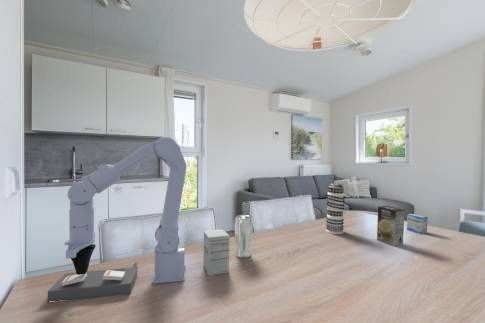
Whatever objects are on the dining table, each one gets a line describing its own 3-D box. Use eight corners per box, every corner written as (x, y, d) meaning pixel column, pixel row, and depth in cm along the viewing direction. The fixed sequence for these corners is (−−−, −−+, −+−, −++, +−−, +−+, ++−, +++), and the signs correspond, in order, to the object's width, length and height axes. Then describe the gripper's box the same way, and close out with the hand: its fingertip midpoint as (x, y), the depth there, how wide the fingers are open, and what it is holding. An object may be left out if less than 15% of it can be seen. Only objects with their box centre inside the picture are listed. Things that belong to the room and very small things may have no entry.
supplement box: (202, 266, 86) (203, 230, 86) (223, 263, 89) (223, 228, 88) (207, 276, 79) (208, 237, 79) (229, 272, 82) (230, 235, 81)
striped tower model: (321, 230, 131) (322, 183, 130) (334, 228, 134) (335, 182, 134) (334, 235, 122) (335, 185, 122) (348, 233, 126) (349, 184, 126)
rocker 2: (124, 274, 72) (125, 271, 72) (121, 280, 69) (122, 276, 69) (106, 273, 71) (106, 269, 71) (102, 279, 68) (103, 275, 68)
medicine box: (406, 230, 133) (406, 214, 133) (411, 229, 135) (412, 213, 135) (422, 234, 126) (422, 217, 126) (427, 233, 128) (427, 216, 128)
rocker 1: (87, 275, 70) (86, 271, 70) (82, 280, 67) (82, 277, 67) (67, 280, 69) (66, 276, 69) (62, 286, 66) (61, 282, 66)
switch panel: (141, 264, 86) (141, 255, 86) (130, 293, 68) (130, 281, 68) (77, 269, 82) (77, 259, 82) (47, 302, 64) (47, 289, 64)
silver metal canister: (241, 250, 101) (242, 213, 101) (255, 254, 97) (256, 216, 96) (230, 255, 96) (231, 217, 96) (244, 260, 92) (245, 220, 91)
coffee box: (375, 239, 117) (377, 206, 116) (385, 238, 119) (386, 205, 119) (394, 246, 108) (395, 210, 108) (404, 244, 111) (405, 209, 110)
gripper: (76, 218, 74) (76, 263, 74) (51, 233, 60) (51, 288, 60) (102, 217, 76) (102, 261, 76) (84, 232, 62) (83, 285, 62)
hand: (82, 273), depth 68 cm, fingers closed
